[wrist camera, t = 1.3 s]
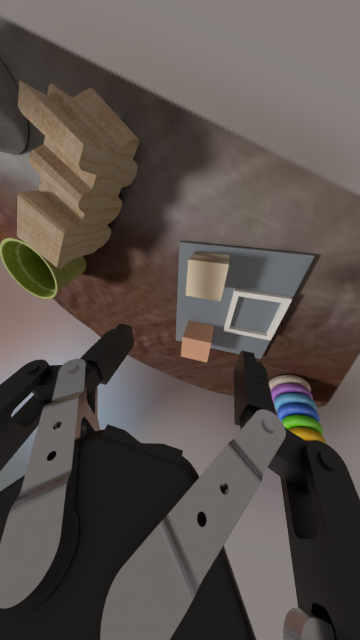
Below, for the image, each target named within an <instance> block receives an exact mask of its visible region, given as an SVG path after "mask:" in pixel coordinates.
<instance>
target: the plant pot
mask: <svg viewBox="0 0 360 640" xmlns="http://www.w3.org/2000/svg"><path fill="white" fill-rule="evenodd" d="M0 255H1V258H2V261H3V263H4V265H5V267H6V268H7V270H8V272H9V273H10V274H11V276H12V277H13V278H14V279H15V280H16V282H17V283H19V284H20V285H21V286H22V287H23V288H24V289H25V290H27V291H28V292H30V293H31V294H33V295H35V296H37V297H40V298H44V299H50V298H53V297H54V296H56V294H57V293H58V291H59V290H60V289H61V288H62V287H63V286H64V285H65V284H67V283H68V282H70V281H71V280H73V279H74V278H76V277H78V276H79V275H81V274H82V273H83V272H84V271H85V270H86V260H85V259H84V257H83V256H82V257H79V258H76V259H72V260H70V261H69V262H68V263H67V264H66V265H65V266H64V267H63V268H60V269H58V268H57V267H56V266H54V265H53V264H52V263H51V262H49V261H48V260H47V259H45V258H44V257H43V256H42V255H40V254H39V253H38V252H36V251H35V250H34V249H33V248H31V247H30V246H29V245H27V244H26V243H25V242H24V241H22V240H20V239H16V238H7V239H4V240H3V241H2V242H1V245H0Z"/></svg>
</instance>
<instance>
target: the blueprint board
mask: <svg viewBox="0 0 360 640" xmlns="http://www.w3.org/2000/svg"><path fill="white" fill-rule="evenodd" d="M195 251H199V252H208V253H217V254H226V255H229V267H228V271H227V276H226V280H225V285H224V289H223V294H222V298H221V301H216V300H210V299H204V298H198V297H192V296H186V283H187V270H188V259H189V258H190V257H191V256H192V255H193V253H194V252H195ZM314 257H315V256H314V255H312V254H306V253H296V252H286V251H276V250H266V249H256V248H246V247H236V246H226V245H216V244H206V243H196V242H186V241H181V242H180V248H179V272H178V296H177V321H176V340H177V341H182V337H183V334H184V332H185V329H186V326H187V324H188V321H193V322H198V323H203V324H208V325H213V326H214V329H213V335H212V342H211V347H210V348H213V349H218V350H222V351H227V352H231V353H236V354H240V352H241V351H242V350H243V351H247V352H252V353H254V355H255V358H259V359H261V358H262V356H263V354H264V352H265V350H266V348H267V346H268V344H269V342H270V341H271V339H272V337H273V335H274V334H275V332H276V330H277V328H278V326H279V324H280V322H281V320H282V318H283V316H284V315H285V313H286V311H287V309H288V307H289V305H290V303H291V301H292V298H293V297H294V295H295V293H296V291H297V289H298V287H299V285H300V283H301V281H302V279H303V277H304V276H305V274H306V272H307V270H308V268H309V266H310V264H311V262H312V260H313V258H314Z"/></svg>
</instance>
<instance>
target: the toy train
mask: <svg viewBox="0 0 360 640" xmlns="http://www.w3.org/2000/svg"><path fill="white" fill-rule="evenodd" d="M18 107H19V109H20V111H21V113H22V114H23V115H24V116H25V117H26V118H27V119H28V120H29V121H30V122H31V123H32V124H33V125H34V126H35V127H36V128H38V129H39V130H40V131H41V132H42V133H43V134H44V135H45V139H44V144H42V145H40V146H39V147H37V148H35V149H33V150H32V152H31V154H30V156H29V163H30V164H31V165H32V167H33V168H34V169H35V170H36V171H37V172H38V173H39V174H40V185H39V191H27V192H20V193H19V194H18V205H17V236H18V237H19V238H20V239H21V240H22V241H24V242H25V243H26V244H27V245H29V246H30V247H31V248H33V249H34V250H35V251H36V252H38V253H39V254H40V255H42V256H43V257H44V258H45V259H47V260H48V261H49V262H51V263H52V264H53V265H54V266H56V267H57V268H58V269H60V268H63V267H64V266H65V265H66V264H67V263H68V262H69V261H70V260H72V259H76V258H79V257H82V256H85V255H88V254H91V253H94V252H95V251H96V250H97V249H98V248H100V247H102V246H103V245H105V243H106V242H107V241H108V239H109V238H110V235H111V228H110V227H109V226H108V224H109V223H110V222H112V221H113V220H114V219H115V218H116V217H117V216H118V214H119V213H120V210H121V208H122V201H121V199H120V198H119V197H118V195H119V193H120V190H121V188H122V187H127V186H129V185H130V184H131V183H132V182H133V180H134V179H135V177H136V174H137V171H138V166H137V163H136V162H135V161H134V160H133V159H134V156H135V153H136V150H137V147H138V145H139V139H138V138H137V137H136V135H135V134H134V133H133V132H132V131H131V130H130V129H129V128H128V127H127V126H126V124H125V123H124V122H123V121H122V120H121V119H120V118H119V117H118V116H117V115H116V113H115V112H114V111H113V110H112V109H111V108H110V107H109V106H108V105H107V104H106V102H105V101H104V100H103V99H102V98H101V97H100V96H99V95H98V94H97V92H96V91H95V90H94V89H92V88H88V89H86V90H85V91H83V92H81V93H80V94H78V95H76V96H74V97H72V96H70V95H69V94H67V93H65V92H64V91H62V90H61V89H59V88H58V87H56V86H55V85H53V84H52V83H50V84H49V87H48V93H47V95H45V94H43V93H42V92H40V91H38V90H36V89H35V88H33V87H31V86H29V85H28V84H26V83H24V82H22V81H20V80H19V95H18Z"/></svg>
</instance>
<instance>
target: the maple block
mask: <svg viewBox="0 0 360 640" xmlns="http://www.w3.org/2000/svg"><path fill="white" fill-rule="evenodd" d="M228 267H229V255H226V254H217V253H208V252H199V251H195V252H194V253H193V255H192V256H191V257H190V258H189V259H188V270H187V283H186V296H192V297H198V298H204V299H210V300H216V301H221V298H222V294H223V289H224V285H225V280H226V276H227V271H228Z"/></svg>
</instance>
